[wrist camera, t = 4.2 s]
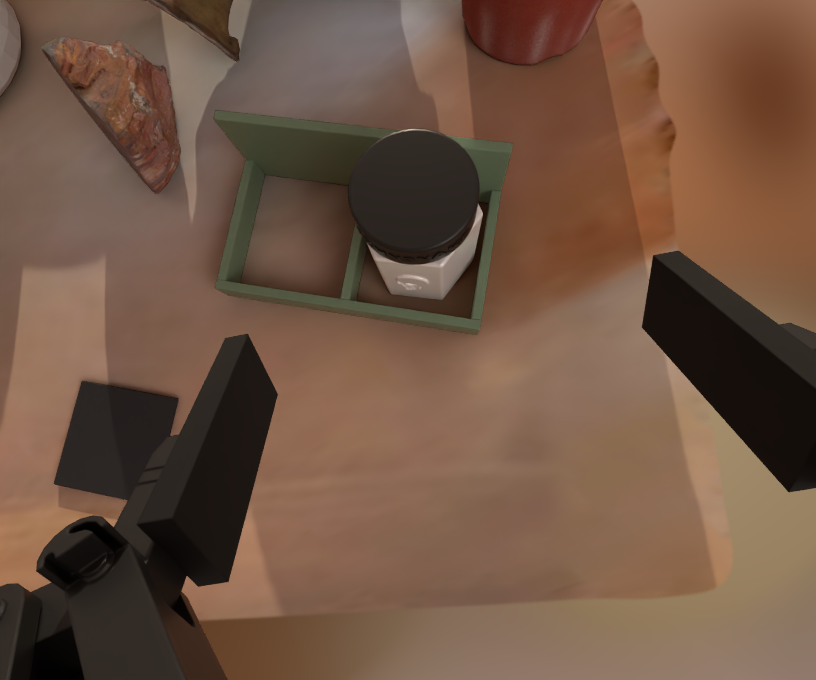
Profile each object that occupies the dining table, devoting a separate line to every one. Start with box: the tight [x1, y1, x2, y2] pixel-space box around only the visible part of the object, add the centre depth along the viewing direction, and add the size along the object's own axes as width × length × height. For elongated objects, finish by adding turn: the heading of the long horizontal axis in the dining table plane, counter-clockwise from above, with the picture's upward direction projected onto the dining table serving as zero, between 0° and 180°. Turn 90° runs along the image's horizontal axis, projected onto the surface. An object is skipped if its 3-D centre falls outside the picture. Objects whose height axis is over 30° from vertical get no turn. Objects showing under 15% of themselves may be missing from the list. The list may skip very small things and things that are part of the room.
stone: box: [42, 37, 181, 194], centre depth 37 cm, size 13×8×10 cm
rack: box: [213, 110, 513, 335], centre depth 35 cm, size 22×13×8 cm, turn 80°
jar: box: [348, 129, 483, 300], centre depth 32 cm, size 9×8×12 cm
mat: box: [54, 381, 178, 500], centre depth 38 cm, size 9×9×1 cm
